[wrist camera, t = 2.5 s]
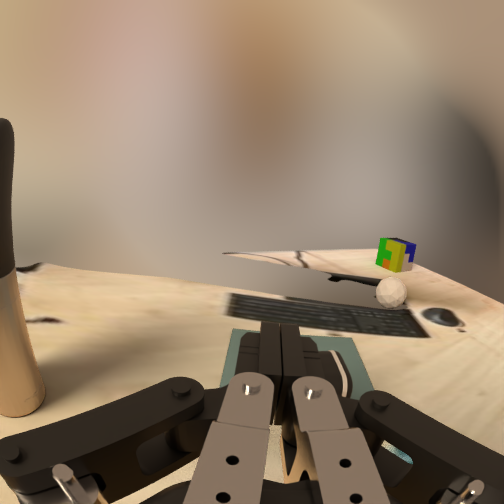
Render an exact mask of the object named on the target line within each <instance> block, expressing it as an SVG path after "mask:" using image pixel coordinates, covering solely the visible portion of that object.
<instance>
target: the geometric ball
mask: <svg viewBox="0 0 504 504" xmlns="http://www.w3.org/2000/svg"><path fill="white" fill-rule="evenodd" d="M376 296H377V300H378V301H379V303H380V304H381V305H382V306H383V307H385V308H389V309H393V308H396V307H398V306H400V305H402V303H403V301H404V300H405V298H406V286H405V285H404V283H403V282H402V281H401V280H400V279H399V278H395V277H391V276H390V277H388V278H385V279H383V280H381V282H380V283H379V285H378V287H377V288H376Z"/></svg>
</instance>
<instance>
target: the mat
mask: <svg viewBox="0 0 504 504" xmlns="http://www.w3.org/2000/svg"><path fill="white" fill-rule="evenodd" d="M247 332H254V333H260V331H251V330H241V329H233V330H232V335H231V339H230V344H229V348H228V352H227V357H226V361H225V366H224V370H223V375H222V379H221V383H220V388H221V387H223V386H226V385H227V384H229V382H230V380H231V378H232V377H234V374H235V368H236V363H237V357H238V351H239V346H240V340H241V337H242V336H243V335H244V334H245V333H247ZM300 336H302V337H310V338H311V339H312V340H313V341H314V342H315V343H316V344H317V347H318V351H328V350H334V351H337V352H339V353H340V354H341V356H342V358H343V360H344V362H345V364H346V366H347V368H348V370H349V372H350V375H351V377H352V382H353V389H352V394H351V399H356V400H359V399H360V397H361V396H362V395H363V394H364V393H366V392H368V391H374V388H373V386H372V383H371V381H370V379H369V376H368V374H367V372H366V369H365V367H364V365H363V363H362V360H361V358H360V356H359V353H358V351H357V349H356V347H355V345H354V342H353V340H352V338H345V337H325V336H309V335H300Z"/></svg>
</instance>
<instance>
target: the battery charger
mask: <svg viewBox="0 0 504 504" xmlns="http://www.w3.org/2000/svg"><path fill="white" fill-rule="evenodd" d="M318 353H319V355H320V359H321V363H322V368H323V372H324V376H325V380H327V381H328V382H330V383H331V384H332V385H333V387H334V389H335V391H336V394H338V395H340V396H343V397H347V398H351V394H352V389H353V382H352V377H351V375H350V372H349V370H348V368H347V366H346V364H345V362H344V360H343V358H342V356H341V354H340V353H339V352H337V351H334V350H328V351H319V352H318Z"/></svg>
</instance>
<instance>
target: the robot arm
mask: <svg viewBox="0 0 504 504" xmlns="http://www.w3.org/2000/svg"><path fill="white" fill-rule="evenodd" d="M13 164H14V132H13V128H12V125H11V123H10V122H9V121H8V120H7V119H4V118H0V414H2V415H4V416H9V417H19V416H24V415H27V414H29V413H31V412H33V411H34V410H36V409H37V408H38V407H39V406H40V405H41V403H42V402H43V400H44V397H45V387H44V384H43V381H42V378H41V375H40V372H39V369H38V366H37V362H36V359H35V356H34V352H33V349H32V345H31V342H30V338H29V334H28V330H27V326H26V322H25V317H24V313H23V308H22V303H21V298H20V293H19V288H18V282H17V275H16V268H15V260H14V252H13V236H12V220H11V195H12V178H13ZM318 352H319V351H318V347H317V344H316V343H315V342H314V341H313V340H312V339H311V338H310V337H302V336H300V331H299V325H298V324H286V323H280V327H279V323H274V322H263V321H261V328H260V333H254V332H247V333H245V334H244V335H243V336H242V337H241V340H240V346H239V351H238V357H237V363H236V368H235V374H234V377H232V378H231V380H230V382H229V384H227V385H226V386H223V387H221V388H216V389H205V390H204V388H203V386H202V385H201V384H200V383H199V382H198V381H196V380H194V379H191V378H187V377H173V378H169V379H167V380H164V381H162V382H160V383H158V384H155V385H153V386H150V387H148V388H146V389H143V390H141V391H138V392H136V393H134V394H131V395H129V396H126V397H124V398H121V399H118V400H116V401H113V402H111V403H108V404H105V405H103V406H100V407H97V408H95V409H92V410H89V411H87V412H84V413H81V414H78V415H75V416H72V417H70V418H67V419H64V420H61V421H58V422H55V423H52V424H48V425H45V426H42V427H39V428H36V429H32V430H29V431H26V432H22V433H19V434H15V435H12V436H8V437H5V438H2V439H0V475H1V476H2V477H3V479H4V480H5V481H6V483H7V485H8V486H9V487H10V488H11V490H12V491H13V492H14V493H15V494H16V495H17V498H18V500H19V502H20V504H110V503H113V502H115V501H117V500H119V499H122V498H124V497H126V496H128V495H130V494H132V493H134V492H136V491H138V490H140V489H142V488H144V487H146V486H148V485H150V484H152V483H154V482H156V481H158V480H160V479H161V478H163V477H165V476H167V475H169V474H170V473H172V472H174V471H176V470H178V469H179V468H181V467H183V466H184V465H186V464H188V463H190V462H191V461H193V460H195V459H196V458H198V457H199V456H200V457H199V460H198V463H197V466H196V469H195V471H194V474H193V477H192V480H190V481H185V482H181V483H178V484H175V485H172V486H170V487H168V488H166V489H164V490H162V491H160V492H158V493H157V494H155V495H153V496H152V497H150V498H148V499H146V500H145V501H143V502H141V503H139V504H504V456H503V455H501V454H499V453H497V452H495V451H493V450H491V449H489V448H487V447H485V446H483V445H481V444H479V443H477V442H475V441H473V440H472V439H470V438H468V437H466V436H464V435H462V434H460V433H458V432H457V431H455V430H453V429H451V428H449V427H447V426H445V425H444V424H442V423H440V422H438V421H436V420H435V419H433V418H431V417H429V416H427V415H426V414H424V413H422V412H420V411H419V410H417V409H415V408H413V407H412V406H410V405H408V404H406V403H405V402H403V401H401V400H400V399H398V398H396V397H394V396H393V395H391V394H389V393H387V392H384V391H378V390H374V391H368V392H366V393H364V394H363V395H362V396H361V397H360V399H359V400H356V399H351V398H347V397H343V396H340V395H338V394H336V391H335V389H334V387H333V385H332V384H331V383H330V382H328V381H327V380H325V376H324V372H323V368H322V363H321V359H320V355H319V353H318ZM273 419H274V425H282V433H281V437H280V451H281V459H282V467H283V476H284V484H283V483H278V482H274V481H270V480H266V479H263V477H264V470H265V463H266V456H267V448H268V441H269V432H270V429H269V425H272V424H273ZM384 440H385V441H387V442H388V443H390V444H391V445H393V446H395V447H396V448H398V449H399V450H401V451H402V452H404V453H406V454H407V455H409V456H410V457H411V459H412V461H413V464H409V463H407V462H406V461H404V460H402V459H401V458H399V457H398V456H396V455H395V454H393V453H391V452H390V451H388V450H387V449H385V448H384V447H382V446H381V445H382V443H383V441H384Z"/></svg>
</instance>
